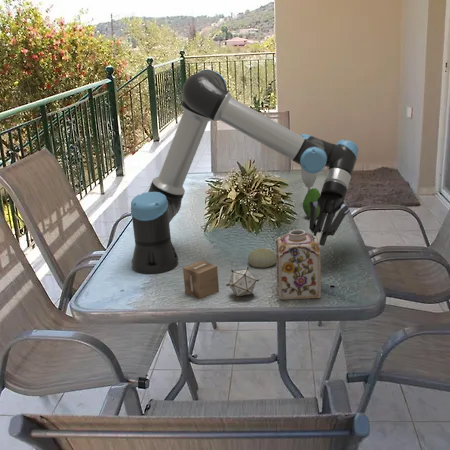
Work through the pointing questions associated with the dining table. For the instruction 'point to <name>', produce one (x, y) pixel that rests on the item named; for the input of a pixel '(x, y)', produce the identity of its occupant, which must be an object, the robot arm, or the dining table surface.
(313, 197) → the avocado
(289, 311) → the dining table surface
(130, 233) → the dining table surface
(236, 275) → the game die
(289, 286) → the decorative jar
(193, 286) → the marked walnut block
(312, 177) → the chalice
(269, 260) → the sea urchin shell
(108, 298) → the dining table surface
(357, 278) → the dining table surface
